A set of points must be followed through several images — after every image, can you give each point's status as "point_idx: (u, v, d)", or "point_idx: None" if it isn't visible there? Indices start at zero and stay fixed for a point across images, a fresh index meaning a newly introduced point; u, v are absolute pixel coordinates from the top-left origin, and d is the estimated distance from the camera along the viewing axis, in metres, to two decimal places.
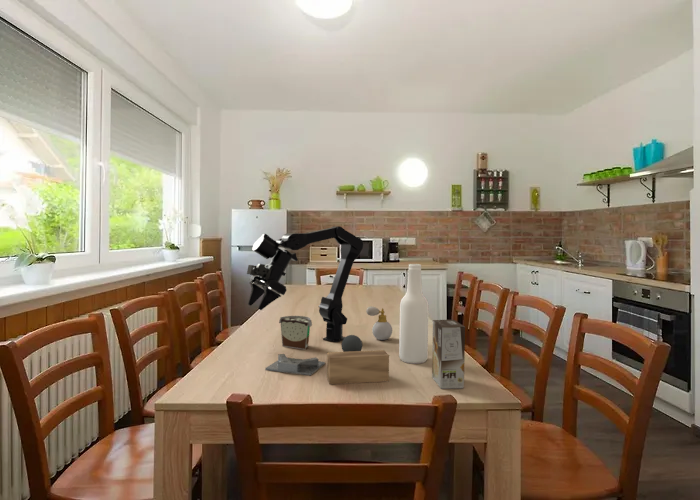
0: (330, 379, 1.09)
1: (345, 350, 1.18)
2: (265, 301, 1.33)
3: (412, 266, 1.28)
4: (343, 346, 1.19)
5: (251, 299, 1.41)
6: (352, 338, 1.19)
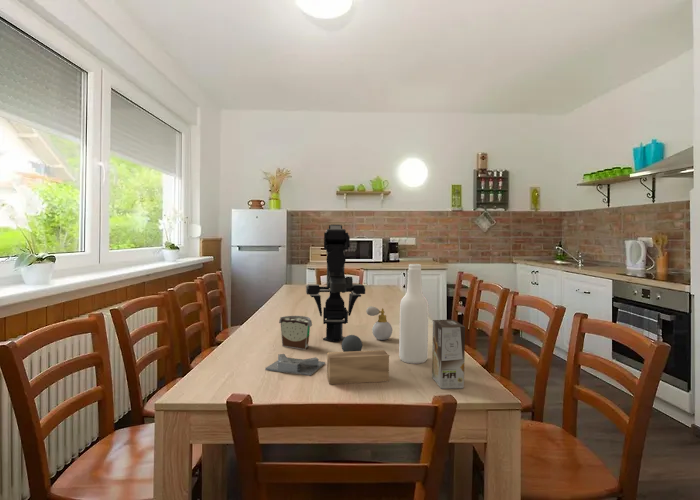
0: (330, 379, 1.09)
1: (345, 350, 1.18)
2: None
3: (412, 266, 1.28)
4: (343, 346, 1.19)
5: (321, 310, 1.33)
6: (352, 338, 1.19)
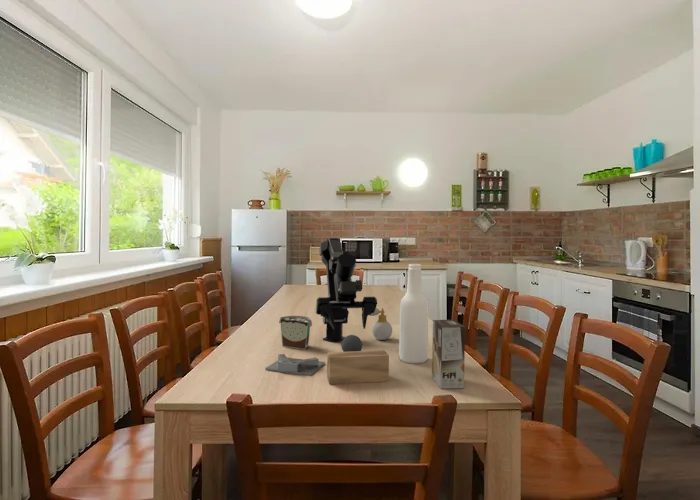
0: (330, 379, 1.09)
1: (345, 350, 1.18)
2: (366, 319, 1.28)
3: (412, 266, 1.28)
4: (343, 346, 1.19)
5: None
6: (352, 338, 1.19)
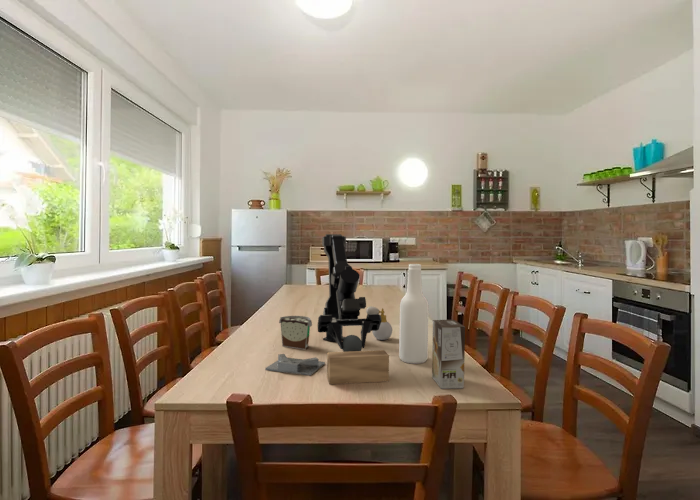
0: (330, 379, 1.09)
1: (345, 350, 1.18)
2: (365, 338, 1.22)
3: (412, 266, 1.28)
4: (343, 346, 1.19)
5: None
6: (352, 338, 1.19)
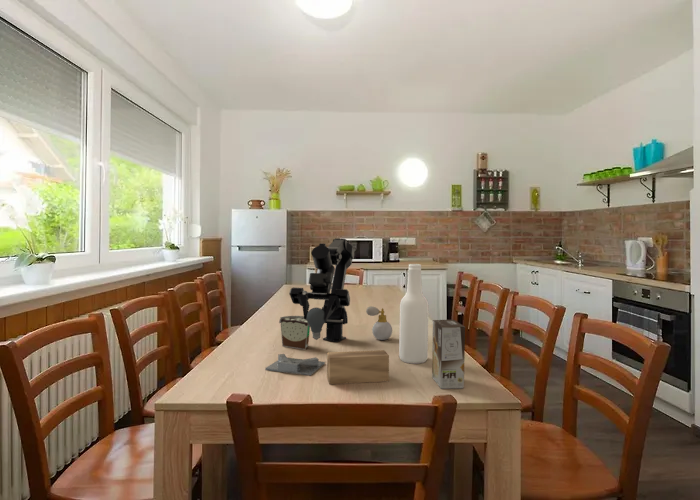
0: (330, 379, 1.09)
1: (307, 321, 1.26)
2: (330, 311, 1.28)
3: (412, 266, 1.28)
4: (306, 317, 1.27)
5: (306, 312, 1.28)
6: (314, 310, 1.26)
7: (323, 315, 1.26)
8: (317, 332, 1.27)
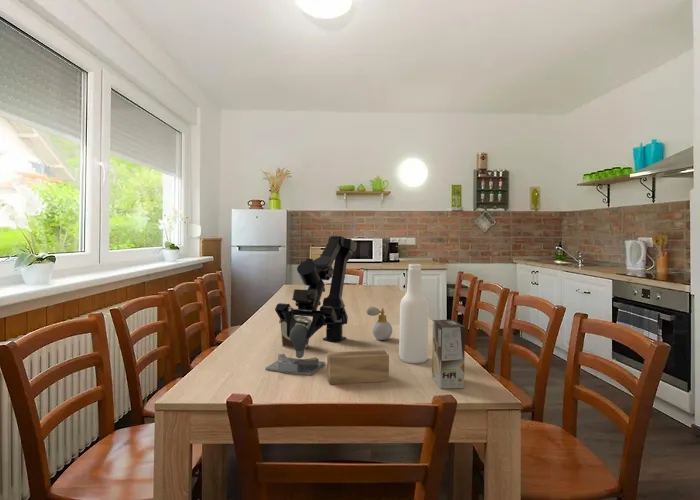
0: (330, 379, 1.09)
1: (290, 338, 1.23)
2: (313, 329, 1.24)
3: (412, 266, 1.28)
4: None
5: (289, 330, 1.25)
6: (296, 327, 1.23)
7: (306, 333, 1.22)
8: (300, 350, 1.23)
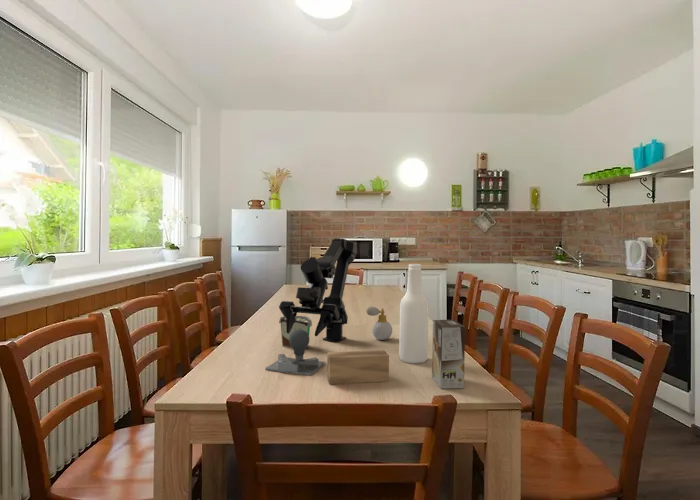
0: (330, 379, 1.09)
1: None
2: (321, 327, 1.26)
3: (412, 266, 1.28)
4: (289, 339, 1.24)
5: (289, 326, 1.28)
6: (296, 332, 1.22)
7: (305, 338, 1.22)
8: (299, 355, 1.23)
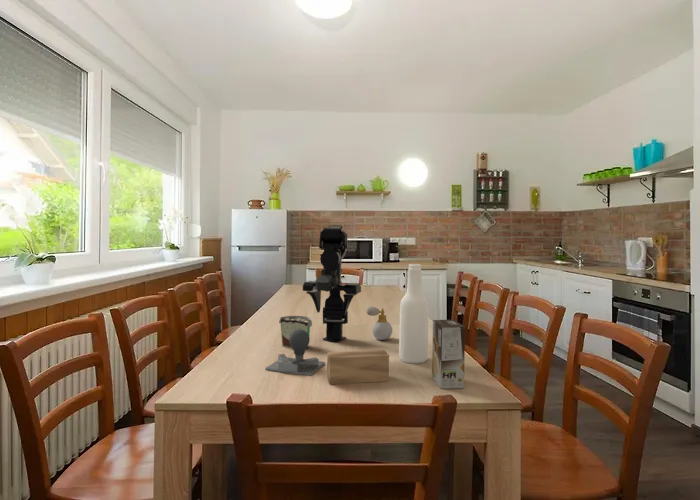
0: (330, 379, 1.09)
1: (290, 343, 1.23)
2: (347, 305, 1.35)
3: (412, 266, 1.28)
4: (289, 339, 1.24)
5: (318, 306, 1.38)
6: (296, 332, 1.23)
7: (305, 338, 1.22)
8: (299, 355, 1.23)
